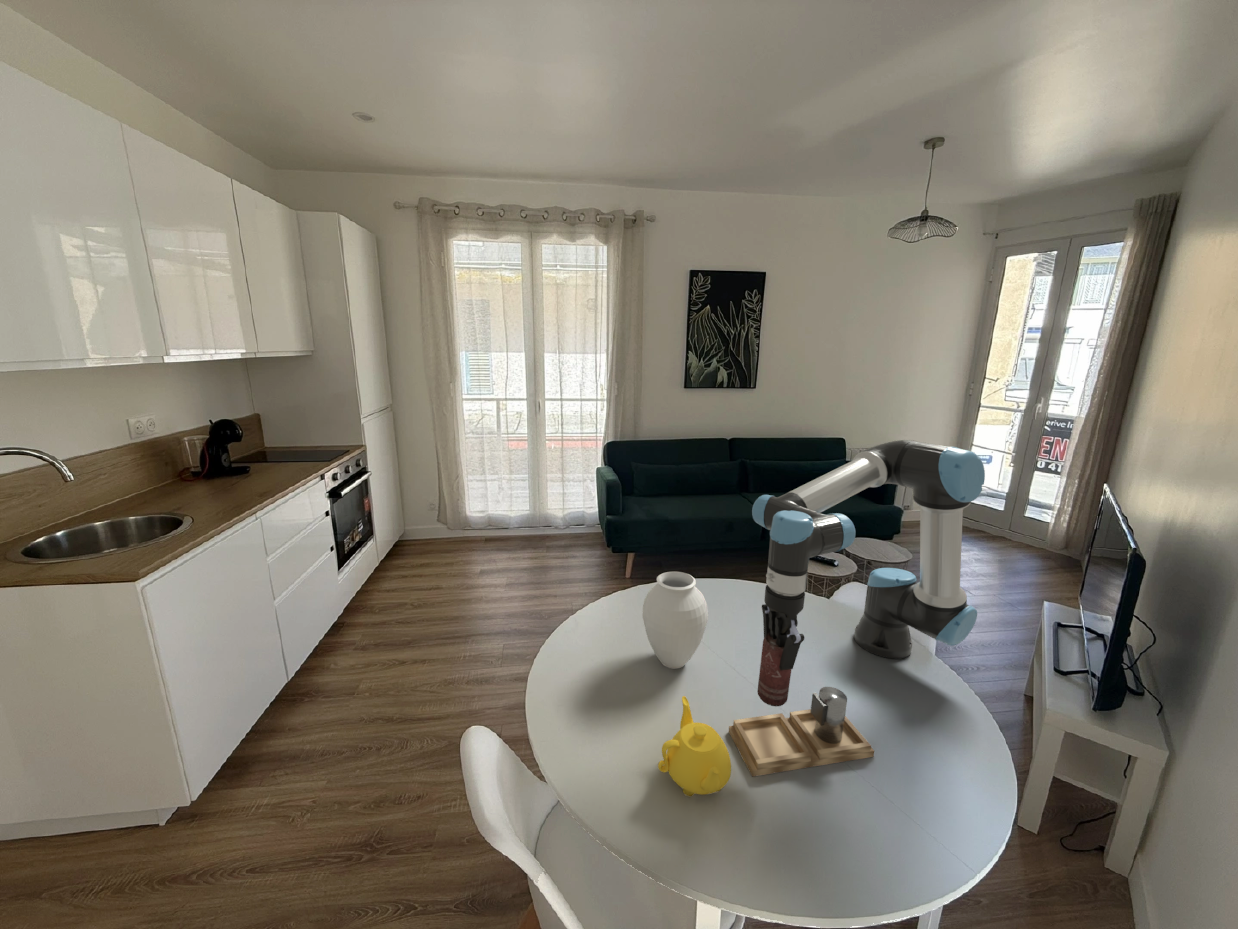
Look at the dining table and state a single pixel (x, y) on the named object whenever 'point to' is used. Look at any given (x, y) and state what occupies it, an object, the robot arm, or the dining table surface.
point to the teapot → (696, 757)
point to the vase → (675, 618)
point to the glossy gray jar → (829, 714)
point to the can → (772, 674)
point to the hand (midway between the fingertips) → (774, 689)
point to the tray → (793, 743)
